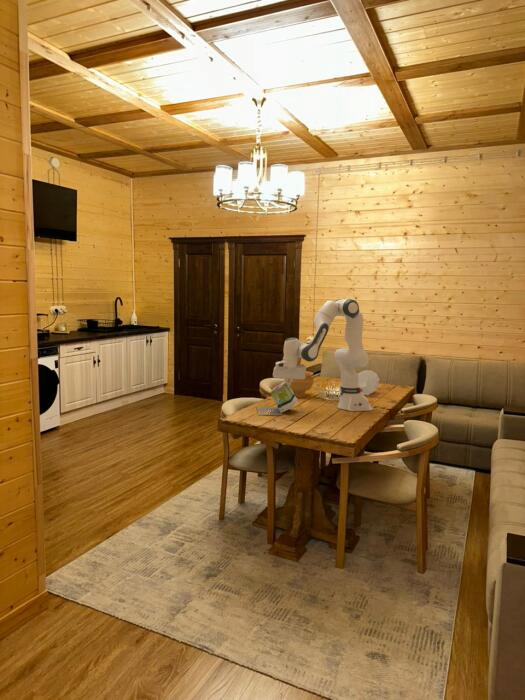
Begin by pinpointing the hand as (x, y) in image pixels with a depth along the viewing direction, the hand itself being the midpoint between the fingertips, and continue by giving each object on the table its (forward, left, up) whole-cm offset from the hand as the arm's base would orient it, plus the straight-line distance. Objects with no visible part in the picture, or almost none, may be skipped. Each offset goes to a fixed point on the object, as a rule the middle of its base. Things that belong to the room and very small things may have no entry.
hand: (288, 385), depth 299 cm
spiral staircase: (-67, -58, -17) cm, 90 cm away
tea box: (-1, 0, -14) cm, 14 cm away
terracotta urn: (-14, -47, -17) cm, 52 cm away
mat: (+12, 0, -17) cm, 20 cm away
